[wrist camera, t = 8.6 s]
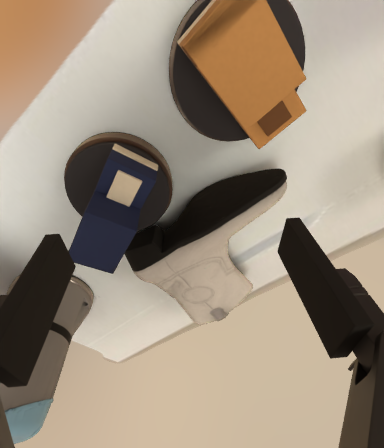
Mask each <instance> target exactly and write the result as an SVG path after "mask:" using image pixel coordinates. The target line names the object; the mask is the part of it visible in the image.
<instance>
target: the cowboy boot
mask: <svg viewBox="0 0 384 448" xmlns="http://www.w3.org/2000/svg"><path fill="white" fill-rule="evenodd" d="M286 179H287V176H286V173H285V171H284V170H282V169H269V170H263V171H257V172H252V173H247V174H243V175H239V176H235V177H231V178H228V179H225V180H222V181H219V182H217V183H215V184H213V185H211V186H209V187H207V188H205V189H204V190H202V191H201V192H199V193H198V194H197V195H196V196H195V197H194V198H193V199H192V200H191V201H190V202H189V204H188V205H187V207H186V208H185V210H184V211H183V213H182V214H181V216H180V217H179V218H178V220H177V221H176V222H175V223H174V224H173V225H172V226H171V227H170V228H169V229H168V230H167V231H164V230H163V229H161V228H160V227H159V226H157V225H154V226H152V227H149V228H147V229H145V230H143V231H141V232H139V233H137V234H135V236H134V237H133V239H132V241H131V243H130V244H129V246H128V248H127V250H126V251H125V253H124V254H125V256H126V257H127V260H128V262H129V264H130V266H131V268H132V270H133V272H134V273H135V274H136V275H137V276H138V277H139V278H140V279H141V280H143V281H146V282H150V283H153V284H155V285H157V286H158V287H160V288H161V289H163V290H164V291H165V292H167V293H168V294H169V295H170V296H172V297H173V298H175V299H176V300H177V301H178V303H179V304H180V305H181V306H182V308H183V309H184V310H185V311H186V312H187V314H188V315H189V317H190V318H191V319H192V320H193V321H194V322H195V323H196V324H207V323H210V322H214V321H220V320H222V319H224V318H225V317H226V316H227V315H228V314H229V312H230V311H231V310H233V309H234V308H235V307H237V306H238V305H239V304H240V303H241V302H242V301H243V300H244V299H245V298H246V297H247V296H248V294H249V293H250V292H251V290H252V289H253V285H252V283H251V282H250V281H249V280H248V279H247V278H246V277H245V276H244V275H243V274H242V273H241V272H240V271H239V270H238V269H237V268H236V267H235V266H234V264H233V263H232V261H231V259H230V257H229V254H228V241H229V239H230V237H231V236H232V235H234V234H235V233H237V232H238V231H239V230H241V229H242V228H243V227H245V226H246V225H247V224H249V223H250V222H251V221H253V220H254V219H256V218H257V217H259V216H260V215H262V214H263V213H264V212H266V211H267V210H268V209H270V208H271V207H272V206H273V205H275V204H276V203H277V202H278V201H279V200H280V199H281V197H282V196H283V195H284V193H285V191H286V187H287V183H286Z"/></svg>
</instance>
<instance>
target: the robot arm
mask: <svg viewBox="0 0 384 448" xmlns="http://www.w3.org/2000/svg"><path fill="white" fill-rule="evenodd" d="M278 254H279V256H280V258H281V260H282V262H283V264H284V266H285V268H286V270H287V272H288V274H289V276H290V278H291V280H292V282H293V284H294V286H295V288H296V290H297V292H298V294H299V296H300V298H301V300H302V302H303V304H304V306H305V308H306V310H307V312H308V314H309V316H310V318H311V321H312V323H313V324H314V326H315V329H316V331H317V332H318V334H319V337H320V339H321V341H322V343H323V345H324V347H325V349H326V351H327V353H328V355H329V357H330V358H340V357H347V356H348V355H349V354H350V353H351V352H352V351H353V352H354V354H355V356H356V357H357V359H356V360H355V361H354V362H353V363H352V364H351V365H350V367H349V368H348V370H350V371H351V370H352V369H353V368H354V369H353V375H352V379H351V385H350V390H349V395H348V401H347V406H346V411H345V417H344V422H343V428H342V433H341V438H340V443H339V448H384V313H383V312H382V311H381V309H380V308H379V307H378V305H377V304H376V303H375V301H374V300H373V299H372V298H371V296H370V295H368V293H367V291H366V290H365V288H363V287H362V285H361V283H360V282H359V281H358V279H357V278H356V277H355V276H354V275H353V274H352V273H350V272H349V271H348V270H346V269H345V268H344V269H335V267H334V266H333V265H332V263H331V262H330V260H329V259H328V257H327V256H326V255H325V253H324V252H323V250H322V249H321V248H320V246H319V245H318V243H317V242H316V241H315V239H314V238H313V236H312V235H311V233H310V232H309V231H308V229H307V228H306V226H305V225H304V224H303V222H302V221H301V219H300V218H287V219H286V222H285V226H284V230H283V233H282V237H281V241H280V244H279V248H278ZM75 267H76V266H75V264H74V262H73V260H72V258H71V256H70V254H69V252H68V250H67V248H66V246H65V244H64V242H63V240H62V238H61V236H60V234H51V235H45V237H44V238H43V240H42V242H41V243H40V245H39V246H38V248H37V250H36V251H35V253H34V254H33V256H32V258H31V259H30V261H29V262H28V264H27V266H26V267H25V269H24V270H23V272H22V274H21V275H19V276H18V277H16V278H15V279H14V281H13V282H12V284H11V285H10V287H9V289H8V292H7V295H0V448H15V447H14V444H16V443H19V442H23V441H25V440H28V439H30V438H31V437H33V436H34V435H35V434H37V433H38V432H39V430H40V429H41V427H42V425H43V423H44V421H45V418H46V415H47V413H48V411H49V408H50V405H51V403H52V402H53V396H54V393H55V390H56V386H57V383H58V380H59V377H60V374H61V371H62V367H63V364H64V361H65V358H66V354H67V351H68V348H69V345H70V342H71V339H72V336H73V335H74V333H75V332H76V330H77V329H78V327H79V326H80V324H81V323H82V322H83V320H84V319H85V317H86V316H87V314H88V313H89V311H90V309H91V307H92V303H93V299H94V297H93V293H92V291H91V289H90V288H89V286H88V285H87V284H85V283H84V282H83V281H81V280H80V279H78V278H76V277H74V276H72V274H73V272H74V269H75Z"/></svg>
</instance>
